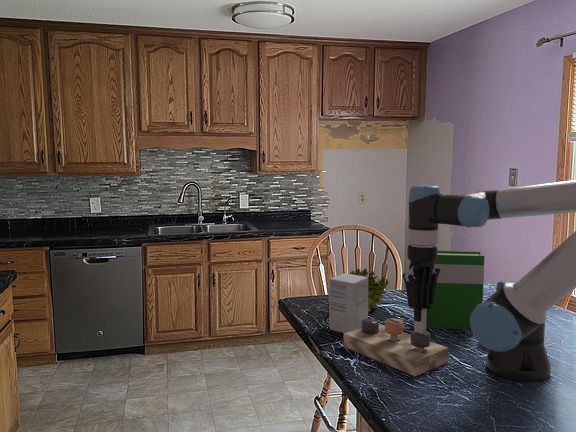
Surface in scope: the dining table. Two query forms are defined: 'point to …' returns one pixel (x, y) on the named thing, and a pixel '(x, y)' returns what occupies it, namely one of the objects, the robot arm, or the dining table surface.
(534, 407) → the dining table surface
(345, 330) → the supplement box
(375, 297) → the green leafy plant
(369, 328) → the black knob far
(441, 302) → the hardback book
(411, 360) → the mount
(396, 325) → the orange knob middle
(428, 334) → the black knob near
